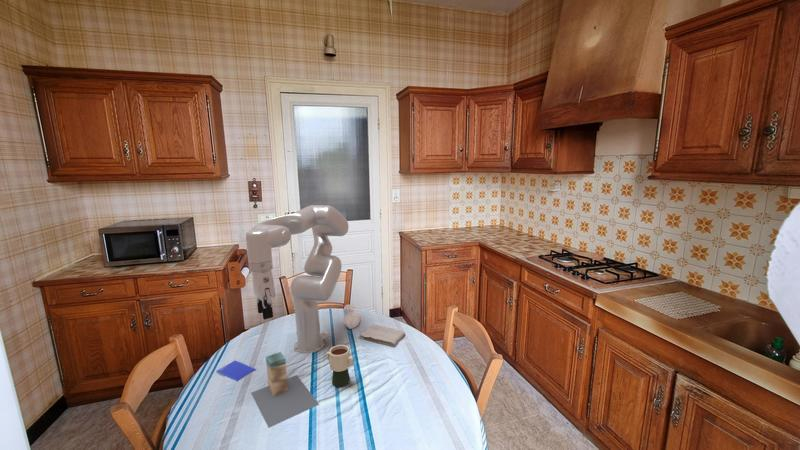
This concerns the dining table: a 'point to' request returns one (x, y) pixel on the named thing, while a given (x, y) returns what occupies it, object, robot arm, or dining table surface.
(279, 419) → the rubber mat
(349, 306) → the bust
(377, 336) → the washcloth
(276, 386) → the maple block
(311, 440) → the dining table surface
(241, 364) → the hard drive
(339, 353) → the character mug
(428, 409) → the dining table surface
